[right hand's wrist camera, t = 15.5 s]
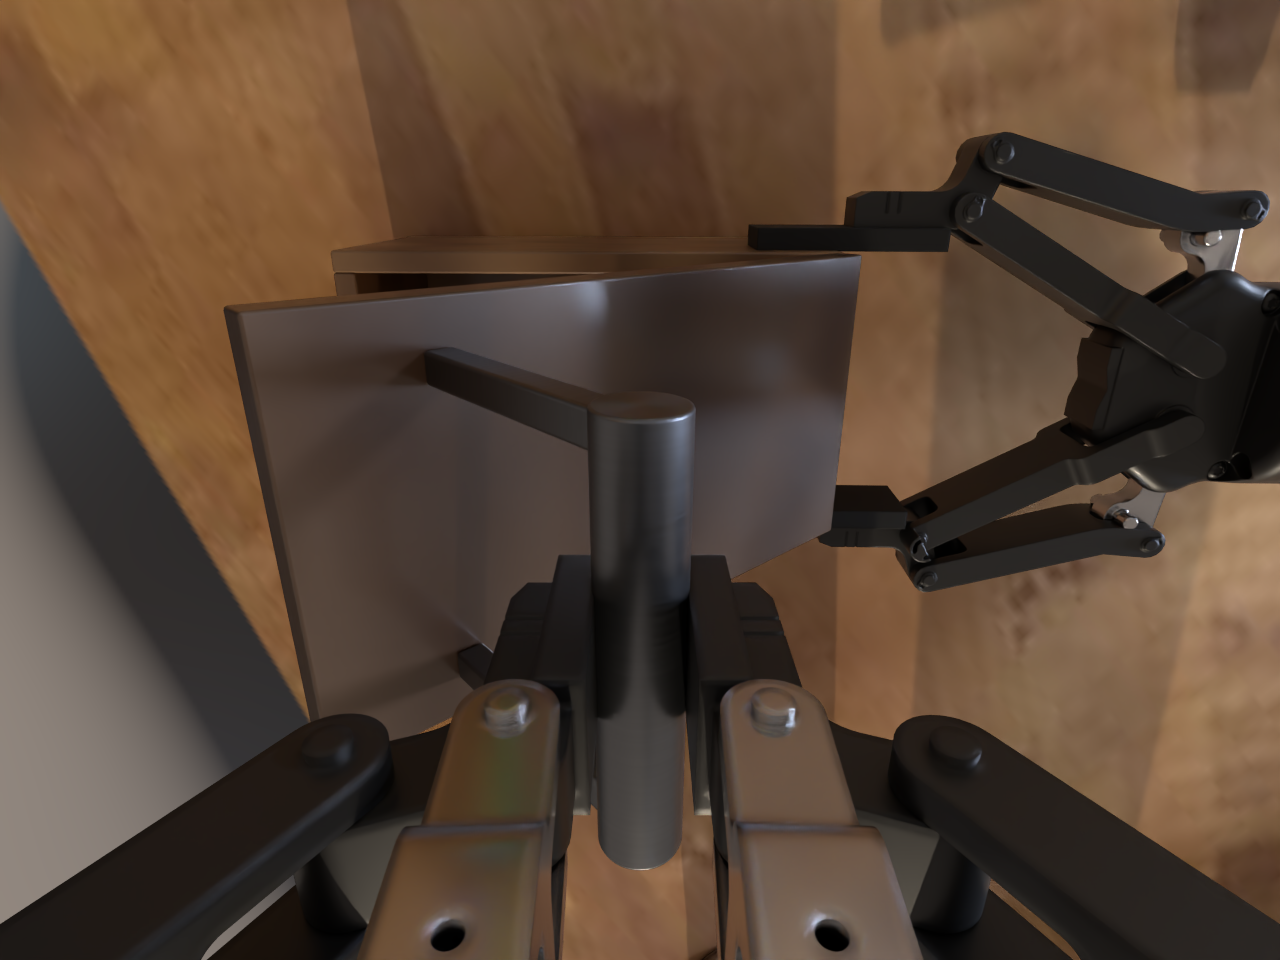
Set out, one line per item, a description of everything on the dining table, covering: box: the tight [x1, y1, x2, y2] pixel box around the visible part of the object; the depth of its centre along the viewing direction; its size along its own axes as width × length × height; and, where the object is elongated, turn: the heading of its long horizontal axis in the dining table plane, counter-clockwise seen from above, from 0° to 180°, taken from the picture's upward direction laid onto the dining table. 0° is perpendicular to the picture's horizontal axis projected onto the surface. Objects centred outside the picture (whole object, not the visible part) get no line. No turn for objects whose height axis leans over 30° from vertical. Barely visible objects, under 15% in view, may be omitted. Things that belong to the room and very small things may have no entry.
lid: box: [224, 253, 861, 870], centre depth 17 cm, size 18×10×8 cm
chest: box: [331, 236, 844, 296], centre depth 30 cm, size 17×10×9 cm, turn 90°
